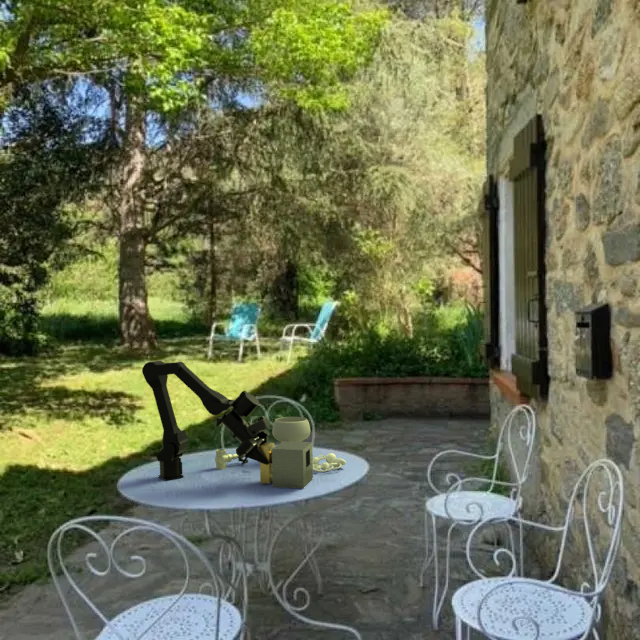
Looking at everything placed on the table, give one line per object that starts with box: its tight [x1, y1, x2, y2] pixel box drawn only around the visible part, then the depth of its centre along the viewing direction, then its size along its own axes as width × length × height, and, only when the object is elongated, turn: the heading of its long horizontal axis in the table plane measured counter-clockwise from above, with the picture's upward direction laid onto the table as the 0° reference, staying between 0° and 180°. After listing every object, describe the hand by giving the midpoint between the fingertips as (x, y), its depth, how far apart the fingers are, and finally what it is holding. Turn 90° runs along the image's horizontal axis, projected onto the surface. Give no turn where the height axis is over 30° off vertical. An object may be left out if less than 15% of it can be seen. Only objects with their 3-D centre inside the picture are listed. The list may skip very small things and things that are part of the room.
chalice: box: [271, 416, 311, 443], centre depth 248 cm, size 14×14×15 cm
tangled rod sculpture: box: [313, 452, 347, 473], centre depth 233 cm, size 19×14×4 cm
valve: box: [214, 448, 249, 471], centre depth 240 cm, size 7×7×12 cm
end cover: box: [259, 442, 275, 484], centre depth 216 cm, size 11×6×12 cm, turn 77°
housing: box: [272, 441, 314, 489], centre depth 215 cm, size 10×12×12 cm
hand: (271, 461), depth 217 cm, fingers closed on end cover, 6 cm apart
